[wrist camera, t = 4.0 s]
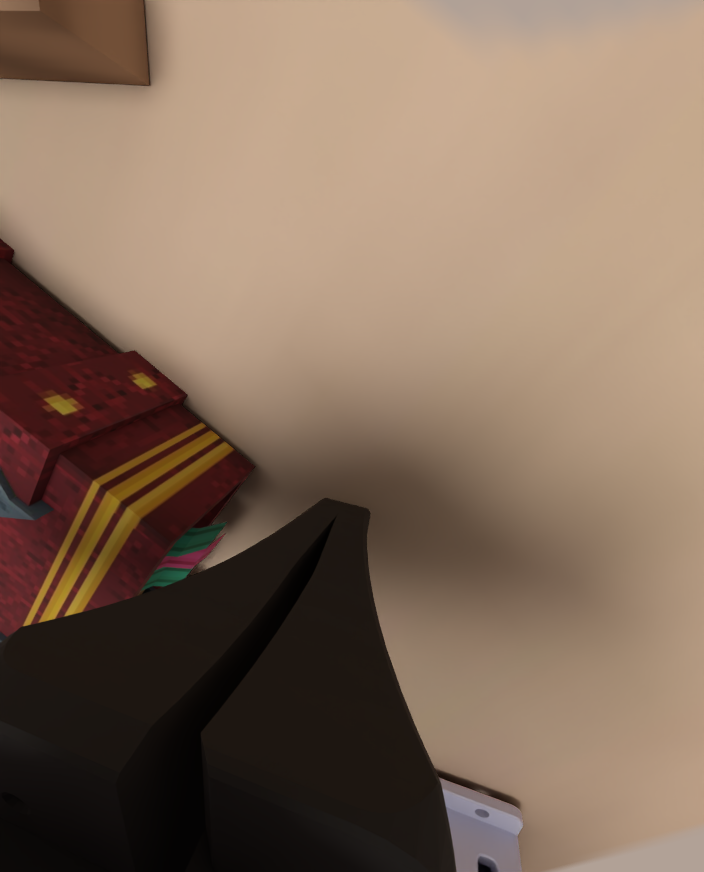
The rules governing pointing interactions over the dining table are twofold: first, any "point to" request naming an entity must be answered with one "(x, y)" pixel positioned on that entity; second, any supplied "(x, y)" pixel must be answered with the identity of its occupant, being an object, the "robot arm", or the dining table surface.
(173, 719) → the robot arm
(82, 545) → the decorative book
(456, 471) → the dining table surface
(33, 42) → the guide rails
